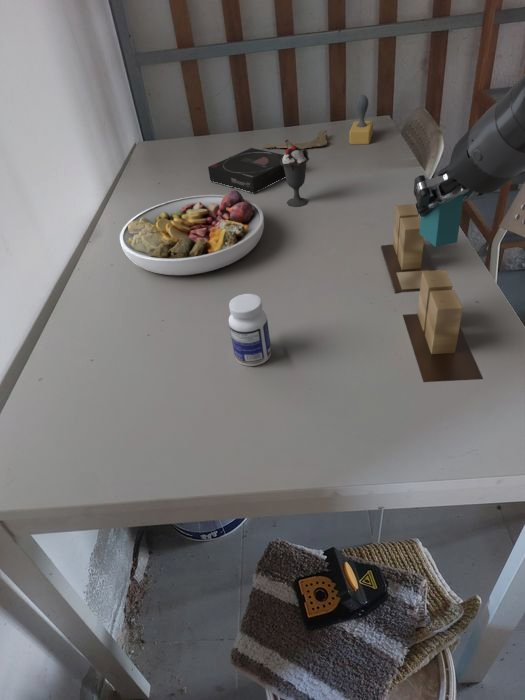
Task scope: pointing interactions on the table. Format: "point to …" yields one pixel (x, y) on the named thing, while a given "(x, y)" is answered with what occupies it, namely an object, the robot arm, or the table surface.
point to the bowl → (193, 234)
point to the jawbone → (317, 142)
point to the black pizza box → (249, 170)
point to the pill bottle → (249, 330)
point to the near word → (440, 332)
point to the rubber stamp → (361, 124)
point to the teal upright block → (442, 222)
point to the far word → (406, 251)
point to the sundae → (295, 172)
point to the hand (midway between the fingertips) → (433, 207)
